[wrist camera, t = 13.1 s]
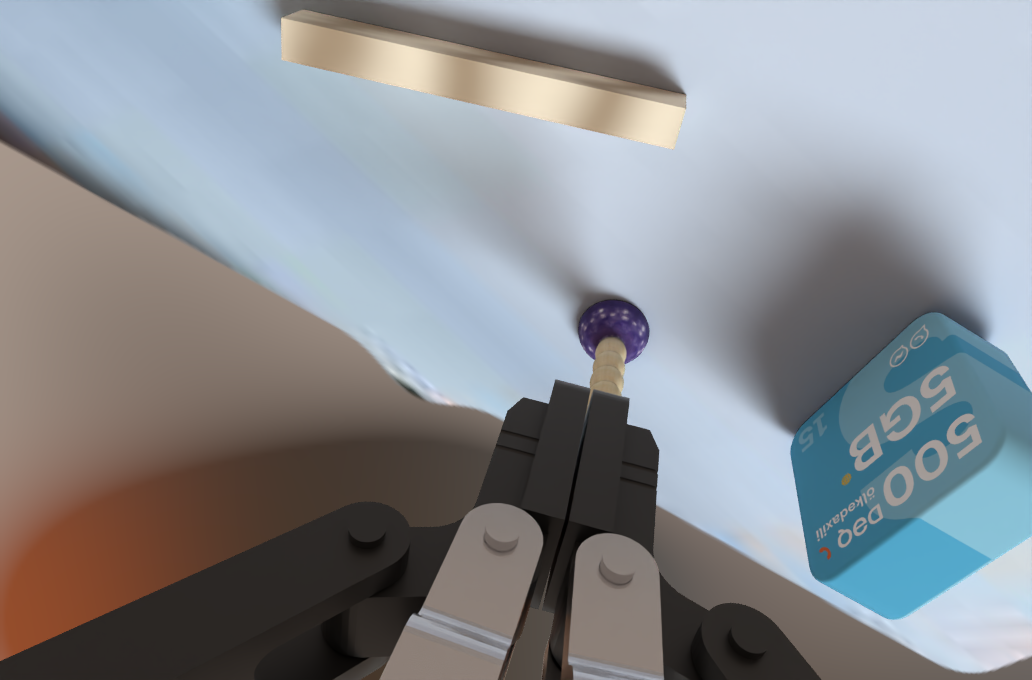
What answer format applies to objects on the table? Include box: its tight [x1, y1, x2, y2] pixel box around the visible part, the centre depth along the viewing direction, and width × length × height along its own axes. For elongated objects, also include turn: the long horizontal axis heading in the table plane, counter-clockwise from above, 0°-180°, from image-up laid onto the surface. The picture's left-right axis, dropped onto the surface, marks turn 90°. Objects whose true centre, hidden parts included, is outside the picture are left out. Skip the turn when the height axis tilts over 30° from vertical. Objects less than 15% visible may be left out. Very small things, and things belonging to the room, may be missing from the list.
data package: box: [791, 312, 1032, 620], centre depth 39 cm, size 12×4×12 cm, turn 152°
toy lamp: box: [578, 300, 649, 413], centre depth 38 cm, size 5×5×17 cm
